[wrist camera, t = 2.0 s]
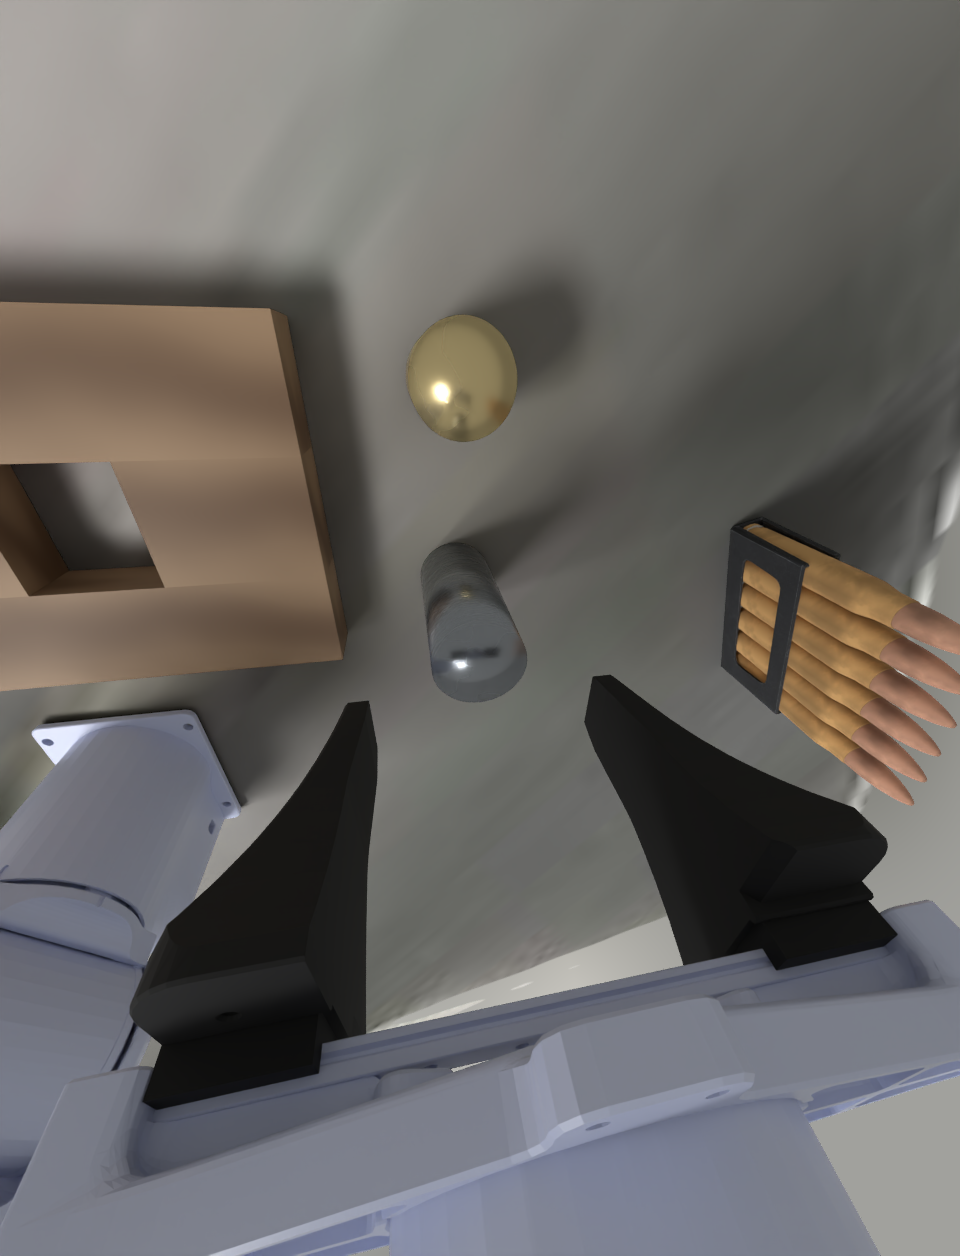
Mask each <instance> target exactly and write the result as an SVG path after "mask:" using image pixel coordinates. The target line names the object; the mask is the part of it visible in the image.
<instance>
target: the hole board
mask: <svg viewBox="0 0 960 1256" xmlns="http://www.w3.org/2000/svg"><path fill="white" fill-rule="evenodd" d="M76 462H110V463H111V465H112V468H113V470H114V472H115V475H116V477H117V479H118V482H119V484H120V486H121V488H122V491H123V493H124V495H125V498H126V500H127V502H128V504H129V507H130V509H131V511H132V514H133V516H134V518H135V520H136V523H137V525H138V527H139V530H140V532H141V534H142V536H143V539H144V541H145V543H146V546H147V548H148V550H149V553H150V555H151V557H152V559H153V562H154V564H155V566H146V567H129V568H111V569H94V570H76V571H69V570H68V568H67V566H66V564H65V563H64V561H63V559H62V557H61V556H60V554H59V552H58V550H57V548H56V547H55V545H54V543H53V541H52V539H51V538H50V536H49V534H48V532H47V530H46V529H45V527H44V525H43V523H42V521H41V520H40V518H39V516H38V514H37V513H36V511H35V509H34V507H33V505H32V504H31V502H30V500H29V498H28V496H27V495H26V493H25V491H24V489H23V487H22V486H21V484H20V482H19V480H18V478H17V477H16V475H15V473H14V471H13V470H12V468H11V466H10V464H34V463H76ZM347 634H348V632H347V627H346V622H345V616H344V611H343V606H342V601H341V596H340V590H339V585H338V580H337V575H336V569H335V564H334V559H333V554H332V549H331V543H330V538H329V533H328V528H327V522H326V517H325V512H324V507H323V502H322V496H321V491H320V486H319V481H318V476H317V470H316V465H315V460H314V455H313V449H312V444H311V439H310V434H309V429H308V423H307V418H306V413H305V408H304V402H303V397H302V392H301V387H300V382H299V376H298V371H297V366H296V361H295V356H294V350H293V345H292V340H291V335H290V329H289V324H288V319H287V316H286V315H284V314H281V313H279V312H277V311H275V310H272V309H270V308H230V307H189V306H149V305H108V304H68V303H27V302H0V691H7V690H18V689H29V688H40V687H50V686H61V685H72V684H83V683H94V682H105V681H116V680H127V679H137V678H148V677H159V676H170V675H181V674H192V673H203V672H214V671H224V670H235V669H246V668H257V667H268V666H279V665H290V664H301V663H311V662H322V661H333V660H343V656H344V651H345V645H346V639H347Z"/></svg>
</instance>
